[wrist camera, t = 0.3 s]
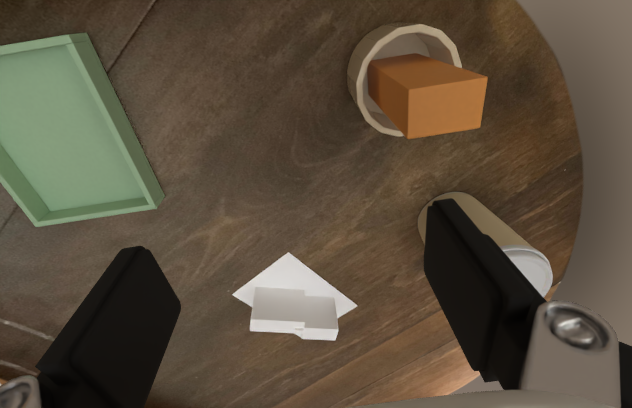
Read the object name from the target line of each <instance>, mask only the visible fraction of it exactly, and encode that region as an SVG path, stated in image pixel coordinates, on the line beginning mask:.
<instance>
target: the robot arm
mask: <svg viewBox="0 0 632 408" xmlns="http://www.w3.org/2000/svg"><path fill="white" fill-rule="evenodd" d="M424 272H425V275H426V277H427V279H428V281H429V283H430V285H431V287H432V289H433V291H434V293H435V295H436V297H437V299H438V302H439V304H440V306H441V308H442V310H443V312H444V314H445V316H446V318H447V320H448V322H449V324H450V326H451V328H452V330H453V332H454V334H455V336H456V338H457V340H458V342H459V344H460V346H461V348H462V350H463V352H464V354H465V356H466V358H467V360H468V362H469V364H470V366H471V368H472V369H473V370H474V371H479V372H480V374H481V376H482V378H483V380H484V382H491V381H499V382H500V384H501V386H502V388H503V389H504V390H501V391H485V392H484V391H483V392H472V393H463V394H454V395H444V396H435V397H426V398H417V399H409V400H401V401H394V402H386V403H378V404H371V405H363V406H355V407H347V408H632V346H629V345H627V344H624V343H622V342H619V341H618V338H617V335H616V332H615V331H614V330H613V328H612V327H611V325H610V324H609V323H608V322H607V321H606V320H605V319H604V318H602V317H601V316H600V315H599V314H597V313H595V312H594V311H592V310H590V309H589V308H586V307H584V306H582V305H579V304H576V303H572V302H568V301H558V300H553V301H549V302H547V301H546V300H545V299H544V298H543V297H542V295H541V294H540V293H539V292H538V291H537V290H536V289H535V287H534V286H533V285H532V284H531V283H530V282H529V280H528V279H527V278H526V277H525V276H524V275H523V274H522V272H521V271H520V270H519V269H518V268H517V267H516V265H515V264H514V263H513V262H512V261H511V260H510V259H509V257H508V256H507V255H506V254H505V253H504V252H503V250H502V249H501V248H500V247H499V246H498V245H497V244H496V242H495V241H494V240H493V239H492V238H491V237H490V236H489V235H487V234H483V233H482V232H481V231H480V230H479V228H478V227H477V226H476V225H475V224H474V223H473V221H472V220H471V219H470V218H469V217H468V215H467V214H466V213H465V212H464V211H463V210H462V208H461V207H460V206H459V205H458V204H457V202H456V201H455V200H454V199H453V198H448V199H442V200H435V201H433V203H432V206H428V208H427V218H426V234H425V251H424ZM180 311H181V304H180V301H179V299H178V298H177V296H176V294H175V293H174V291H173V289H172V287H171V286H170V284H169V282H168V280H167V279H166V277H165V275H164V274H163V272H162V270H161V268H160V267H159V265H158V263H157V262H156V260H155V258H154V256H153V255H152V253H151V252H150V250H148V249H145V248H144V247H142V246H136V247H130V248H124V249H122V250H121V251H120V252H119V253H118V254H117V256H116V257H115V258H114V260H113V261H112V262H111V264H110V265H109V267H108V268H107V269H106V271H105V272H104V273H103V275H102V276H101V277H100V279H99V280H98V282H97V283H96V284H95V286H94V287H93V288H92V290H91V291H90V293H89V294H88V295H87V297H86V298H85V299H84V301H83V302H82V303H81V305H80V306H79V308H78V309H77V310H76V312H75V313H74V314H73V316H72V317H71V318H70V320H69V321H68V323H67V324H66V325H65V327H64V328H63V329H62V331H61V332H60V333H59V335H58V336H57V338H56V339H55V340H54V342H53V343H52V344H51V346H50V347H49V349H48V350H47V351H46V353H45V354H44V355H43V357H42V358H41V359H40V361H39V362H38V364H37V365H36V366H35V367H36V368H38V369H39V370H40V371H41V373H40V374H39V376H38V377H37V378H35V377H33V376H21V377H18V378H15V379H12V380H10V381H8V382H7V383H5V384H3V385H1V386H0V408H144V405H145V403H146V400H147V397H148V395H149V392H150V390H151V387H152V384H153V382H154V379H155V377H156V374H157V371H158V369H159V366H160V364H161V361H162V358H163V356H164V353H165V350H166V348H167V345H168V343H169V340H170V337H171V335H172V332H173V330H174V327H175V324H176V322H177V319H178V317H179V314H180Z"/></svg>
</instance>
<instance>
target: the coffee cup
mask: <svg viewBox="0 0 632 408" xmlns="http://www.w3.org/2000/svg"><path fill="white" fill-rule="evenodd" d="M448 198H453V199H454V200H455V201H456V202H457V204H458V205H459V206H460V207H461V208H462V210H463V211H464V212H465V213H466V214H467V215H468V217H469V218H470V219H471V220H472V221H473V223H474V224H475V225H476V226H477V227H478V228H479V230H480V231H481V232H482V233H483V234H487V235H489V236H490V237H491V238H492V239H493V240H494V241H495V242H496V244H497V245H498V246H499V247H500V248H501V249H502V250H503V252H504V253H505V254H506V255H507V256H508V257H509V259H510V260H511V261H512V262H513V263H514V264H515V265H516V267H517V268H518V269H519V270H520V271H521V272H522V274H523V275H524V276H525V277H526V278H527V279H528V280H529V282H530V283H531V284H532V285H533V286H534V287H535V289H536V290H537V291H538V292H539V293H540V294H541V295H542V297H544V296H545V295H546V294H547V292H548V291H549V289H550V287H551V284H552V279H553V275H552V270H551V266H550V263H549V261H548V260H547V258H546V257H545V256H544V255H543V254H542V253H541V252H539V251H538V250H536V249H534V248H533V247H532V246H531V245H529V244H528V243H527V242H526V241H525V240H524V239H523V238H521V237H520V236H519V235H518V234H517V233H516V232H514V231H513V230H512V229H511V228H510V227H509V226H507V225H506V224H505V223H504V222H503V221H502V220H500V219H499V218H498V217H497V216H496V215H494V214H493V213H492V212H491V211H490V210H488V209H487V208H486V207H485V206H484V205H482V204H481V203H480V202H479V201H478V200H476V199H475V198H474V197H472V196H471V195H469V194H466V193H463V192H449V193H445V194H442V195H440V196H437V197H435V198H434V199H432V200H431V201H430V202H429V203H427V204H426V206H425V207H424V208H423V209H422V211H421V212H420V215H419V217H418V230H419V233H420V235H421V238H422V240H423V242H424V245H425V234H426V218H427V208H428V206H432V203H433V201H435V200H442V199H448Z"/></svg>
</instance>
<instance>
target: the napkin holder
mask: <svg viewBox="0 0 632 408" xmlns="http://www.w3.org/2000/svg"><path fill="white" fill-rule="evenodd" d="M232 295H233V296H235V297H236V298H238V299H239V300H241V301H243V302H245V303H246V304H248V305H249V306H251V307H252V313H251V321H250V331H260V332H281V333H295V334H297V335H298V336H300V337H301V338H302V339H316V340H336V336H337V333H338V330H339V329H338V321H337V318H339V317H340V316H342V315H344V314H345V313H347V312H349V311H350V310H352V309H354V308H355V307H357V305H356V304H355V303H354V302H352V301H351V300H350V299H348V298H347V297H346V296H344V295H343V294H342V293H341V292H339V291H338V290H337V289H335V288H334V287H333V286H331V285H330V284H329V283H328V282H326V281H325V280H324V279H322V278H321V277H320V276H318V275H317V274H316V273H315V272H313V271H312V270H311V269H309V268H308V267H307V266H305V265H304V264H303V263H302V262H300V261H299V260H298V259H296V258H295V257H294V256H292V255H291V254H290V253H289V252H288V253H287V254H285V255H284V256H283V257H281V258H280V259H279V260H277V261H276V262H275V263H273V264H272V265H271V266H269V267H268V268H267V269H265V270H264V271H263V272H261V273H260V274H259V275H257V276H256V277H255V278H253V279H252V280H251V281H249V282H248V283H247V284H245V285H244V286H243V287H241V288H240V289H239V290H237V291H236V292H235V293H233V294H232Z"/></svg>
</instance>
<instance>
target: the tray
mask: <svg viewBox="0 0 632 408" xmlns="http://www.w3.org/2000/svg"><path fill="white" fill-rule="evenodd" d="M0 182H1V184H2V185H3V186H4V187H5V189H6V190H7V191H8V193H9V194H10V195H11V196H12V198H13V199H14V200H15V201H16V203H17V204H18V205H19V206H20V208H21V209H22V210H23V211H24V213H25V214H26V215H27V216H28V218H29V219H30V220H31V221H32V222H33V224H34V225H35V227H40V226H46V225H53V224H59V223H66V222H72V221H79V220H85V219H92V218H98V217H105V216H112V215H118V214H125V213H131V212H138V211H144V210H151V209H157V207H158V206H159V205H160V203H161V202H162V200H163V199H164V197H165V195H164V193H163V191H162V189H161V187H160V185H159V183H158V181H157V179H156V176H155V174H154V172H153V170H152V168H151V166H150V164H149V162H148V160H147V158H146V156H145V153H144V151H143V149H142V147H141V145H140V143H139V141H138V139H137V137H136V135H135V133H134V130H133V128H132V126H131V124H130V122H129V120H128V118H127V116H126V114H125V112H124V110H123V107H122V105H121V103H120V101H119V99H118V97H117V95H116V93H115V91H114V89H113V87H112V84H111V82H110V80H109V78H108V76H107V74H106V72H105V70H104V68H103V66H102V64H101V61H100V59H99V57H98V55H97V53H96V51H95V49H94V47H93V45H92V43H91V41H90V38H89V36H88V34H87V33H78V34H68V35H62V36H56V37H50V38H44V39H38V40H32V41H27V42H21V43H15V44H9V45H3V46H0Z"/></svg>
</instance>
